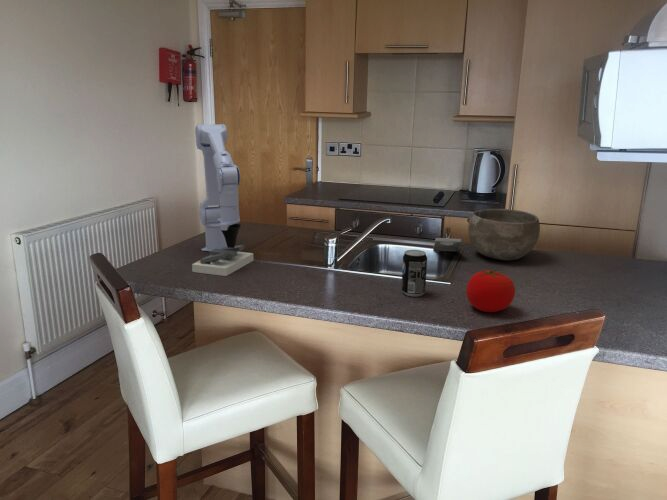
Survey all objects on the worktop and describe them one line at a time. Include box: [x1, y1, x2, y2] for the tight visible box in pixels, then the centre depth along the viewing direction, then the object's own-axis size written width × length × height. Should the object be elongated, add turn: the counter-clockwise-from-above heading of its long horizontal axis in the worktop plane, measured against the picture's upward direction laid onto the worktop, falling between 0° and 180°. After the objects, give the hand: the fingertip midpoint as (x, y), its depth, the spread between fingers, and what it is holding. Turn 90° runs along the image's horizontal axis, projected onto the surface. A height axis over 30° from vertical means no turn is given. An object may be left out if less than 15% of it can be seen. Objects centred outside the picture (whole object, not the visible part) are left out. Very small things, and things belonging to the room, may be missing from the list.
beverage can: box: [401, 249, 428, 298], centre depth 153 cm, size 7×7×12 cm
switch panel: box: [191, 251, 254, 277], centre depth 178 cm, size 18×12×3 cm, turn 161°
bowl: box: [466, 208, 541, 262], centre depth 190 cm, size 24×24×15 cm
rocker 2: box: [209, 249, 238, 258], centre depth 177 cm, size 4×8×1 cm, turn 71°
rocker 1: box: [199, 252, 228, 263], centre depth 172 cm, size 4×8×1 cm, turn 71°
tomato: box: [465, 270, 516, 313], centre depth 142 cm, size 11×12×10 cm
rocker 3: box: [221, 244, 246, 252], centre depth 182 cm, size 4×8×1 cm, turn 71°
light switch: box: [432, 237, 462, 252], centre depth 191 cm, size 8×6×14 cm
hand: (231, 247), depth 176 cm, fingers closed
